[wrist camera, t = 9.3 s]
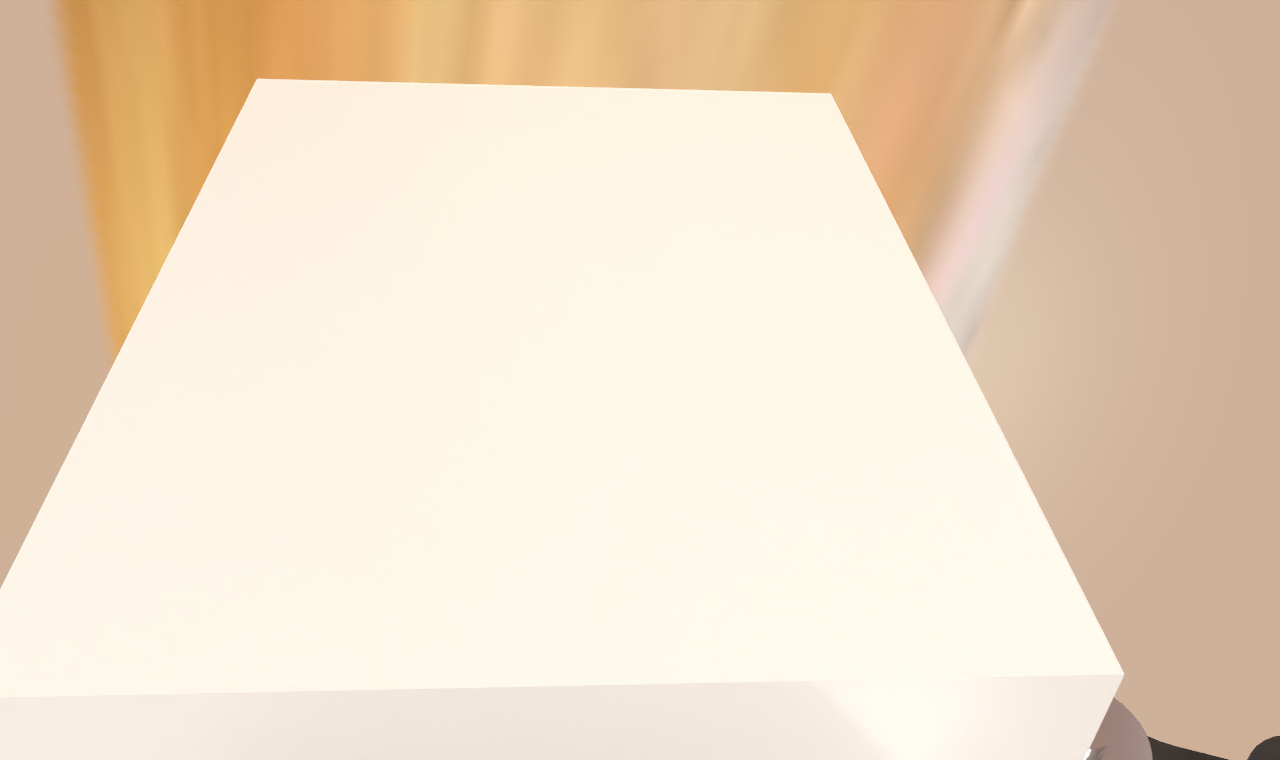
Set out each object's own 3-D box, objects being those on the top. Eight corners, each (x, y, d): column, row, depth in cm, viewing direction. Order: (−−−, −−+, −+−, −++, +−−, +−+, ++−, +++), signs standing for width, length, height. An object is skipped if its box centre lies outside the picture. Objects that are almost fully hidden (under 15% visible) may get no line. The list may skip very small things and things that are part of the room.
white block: (257, 79, 13) (-55, 698, 6) (830, 93, 14) (1123, 673, 7) (321, 508, 17) (173, 1176, 10) (763, 505, 18) (906, 1135, 11)
